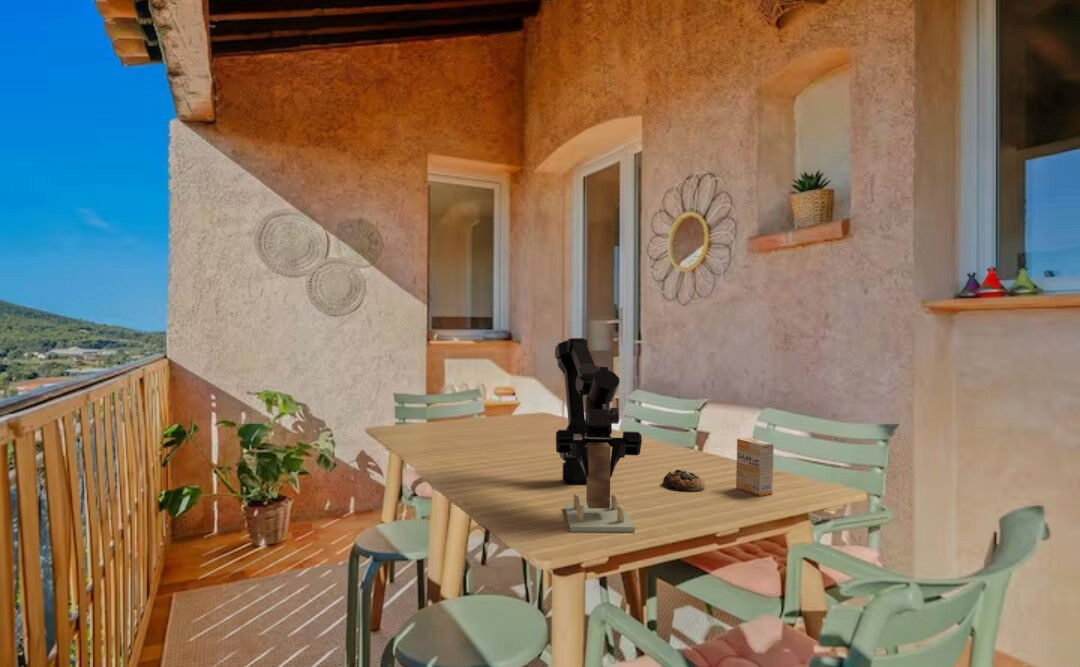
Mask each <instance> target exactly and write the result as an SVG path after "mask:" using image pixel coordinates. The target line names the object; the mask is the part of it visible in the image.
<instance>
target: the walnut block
mask: <svg viewBox="0 0 1080 667" xmlns="http://www.w3.org/2000/svg"><path fill="white" fill-rule="evenodd" d="M611 453H612V447H610V445H609V444H608V443H589V442H587V465H588V477H587V484H586V492H585V493H586V494H585V495H586V501H585V502H586V504H587V505H588V508H599V509H610V503H611V477H610V462H611Z"/></svg>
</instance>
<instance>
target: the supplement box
mask: <svg viewBox="0 0 1080 667" xmlns="http://www.w3.org/2000/svg"><path fill="white" fill-rule="evenodd" d="M736 440H737V441H736V469H735V470H736V473H735V474H736V475H735V476H736V477H735V478H736V479H735V488H736V489H739V490H742V491H745V492H747V493H751V494H754V495H756V496H759V497H762V496H761V495H765V496H770V495H769V494H771V495H773V491H774V490H773V483H774V482H773V481H774V450H775V449H774V447H775V446H774V445H775V444H774V443H772V442H767V441H764V440H760V439H756V438H752V437H740V438H739V437H738V438H737V439H736Z"/></svg>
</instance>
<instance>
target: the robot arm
mask: <svg viewBox="0 0 1080 667" xmlns="http://www.w3.org/2000/svg"><path fill="white" fill-rule="evenodd" d="M554 358H555V359H556V360H557V367H558V369H560V371H561V372H562V374H563V376H564V388H565V397H566V398H565V399H566V409H567V421H568V422H567V423H568V424H567V426H566V428H565V429H558V430H556V432H555V448H556V449H555V450H556V453H557V454H559V457H560V459H562V461H564V462H563V463H562V470H561V472H562V474H561V476H562V480H563V481H564V484H566V485H587V477H588V465H587V442H589V443H608V444H609V445H610V447H611V454H610V478H612V477H613V474H614V472H615V469H616V467H617V465H618V463H619V460H620V459H624V458H625V457H626V456H639V455H640V454H641V450H642V449H641V448H642V443H643V442H642V441H643V439H642V434H641V433H640V432H639V431H626V430H625V431H623V432H622V437H612V433H613V429H612V427H613V426H612V425H613V424H614V425H615V424H616V425H617V424H619V422H620V410H619V409H620V408H619V407H610V406H611V405H610V404H611V403H612V402H613V401H614V398H615V396H616V393H617V390H618V387H619V384H620V378H619V376H618V375H617V374H616V372H613V371H612V370H609V368H608V366H599V365H596V363H595V361H594V359H593V356H592V354H591V352H590V349H589V347H588V339H587V338H584V337H570V338H568V339H567V340H565V341H562V342H559V343H557V345H556V346H555V349H554ZM585 396H586V397H585ZM584 397H585V399H583V398H584ZM584 400H585V401H584ZM584 402H585V403H584ZM584 404H585V407H584Z"/></svg>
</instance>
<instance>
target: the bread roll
mask: <svg viewBox="0 0 1080 667" xmlns="http://www.w3.org/2000/svg"><path fill="white" fill-rule="evenodd" d="M662 483H663V484H664V487H665V488H667V489H669V490H673V491H677V490H678V491H681V492H690V490H691V491H693V492H702V491H703V490H702V489H705V487H706V482H705V480H704V479H703V478H702V477H701V476H698V475H696V474H695V473H694V472H689V471H687V470H681V469H676V470H674V471H673V472H671V471H669V472H668V473H666V475H665V476H664V477H663V481H662ZM701 490H702V491H701Z"/></svg>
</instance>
